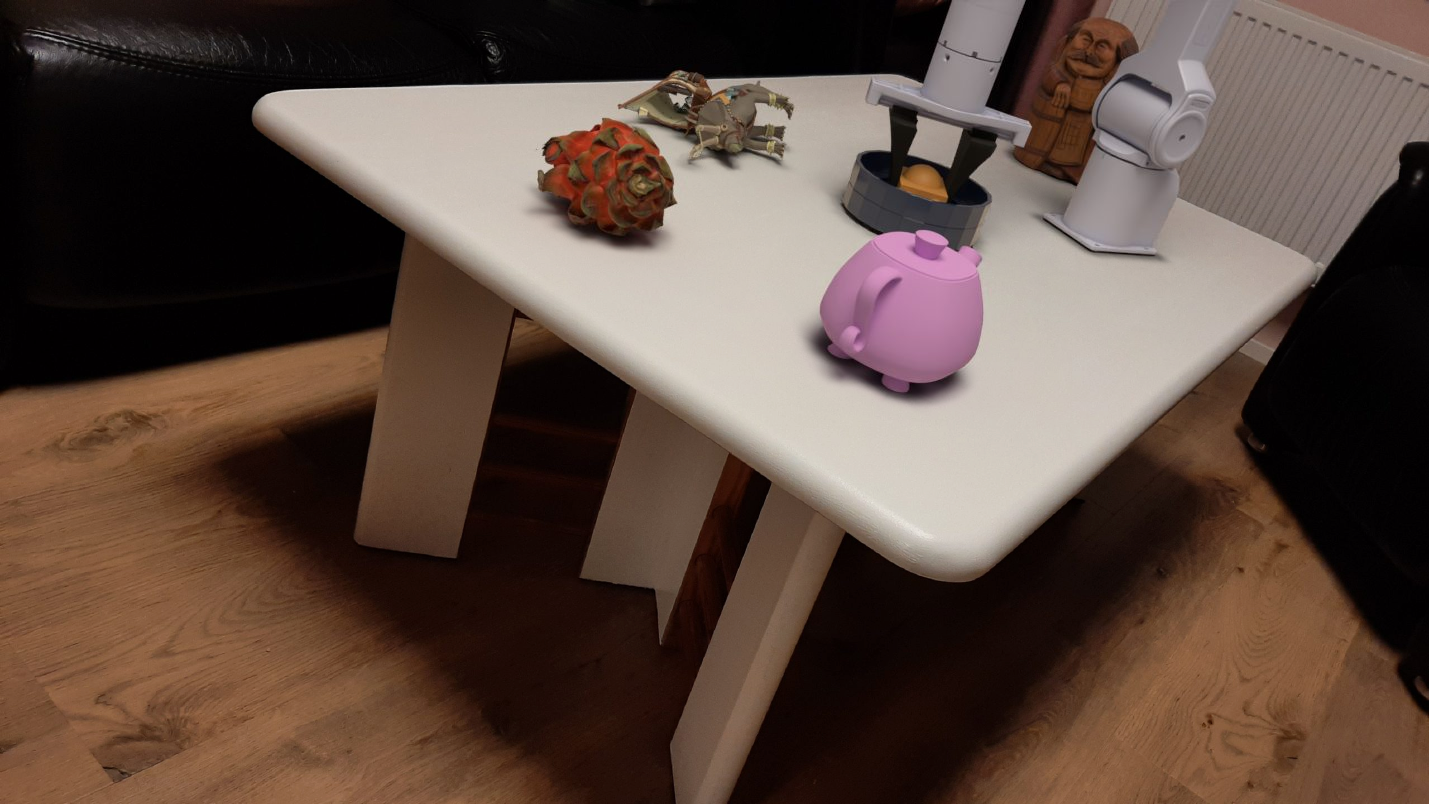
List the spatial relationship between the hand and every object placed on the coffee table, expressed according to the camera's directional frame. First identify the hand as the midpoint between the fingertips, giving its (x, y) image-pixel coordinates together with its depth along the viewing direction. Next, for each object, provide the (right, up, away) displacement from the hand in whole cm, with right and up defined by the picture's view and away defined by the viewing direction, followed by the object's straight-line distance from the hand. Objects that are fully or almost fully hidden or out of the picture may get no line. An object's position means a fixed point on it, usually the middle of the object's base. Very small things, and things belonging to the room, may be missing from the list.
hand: (915, 199), depth 96 cm
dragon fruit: (-28, -5, -17) cm, 33 cm away
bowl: (-1, -2, +1) cm, 2 cm away
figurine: (-20, +8, +8) cm, 23 cm away
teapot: (-6, -16, -24) cm, 30 cm away
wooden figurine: (+23, +10, +32) cm, 40 cm away
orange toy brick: (0, -1, +1) cm, 1 cm away
